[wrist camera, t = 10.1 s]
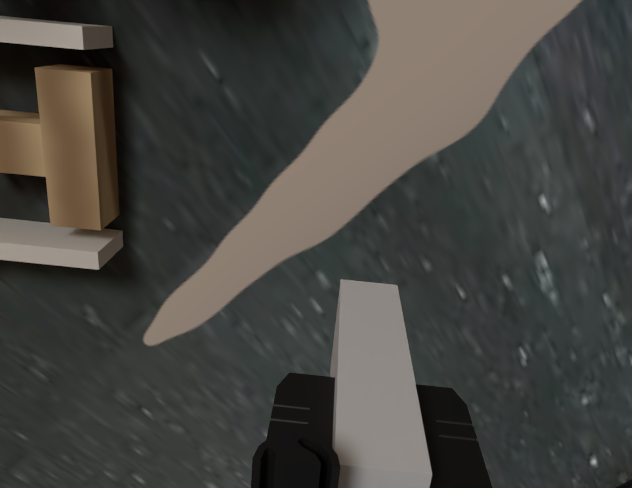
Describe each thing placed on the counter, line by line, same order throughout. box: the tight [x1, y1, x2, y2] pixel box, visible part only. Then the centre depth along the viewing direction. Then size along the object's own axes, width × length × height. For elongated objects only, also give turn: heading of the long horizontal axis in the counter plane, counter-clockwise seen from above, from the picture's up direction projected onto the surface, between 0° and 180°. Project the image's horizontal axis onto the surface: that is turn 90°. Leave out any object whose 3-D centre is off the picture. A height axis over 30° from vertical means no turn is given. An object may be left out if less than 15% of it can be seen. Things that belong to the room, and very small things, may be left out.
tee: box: [0, 64, 120, 231], centre depth 43 cm, size 10×12×4 cm
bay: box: [0, 16, 123, 270], centre depth 42 cm, size 15×18×5 cm
